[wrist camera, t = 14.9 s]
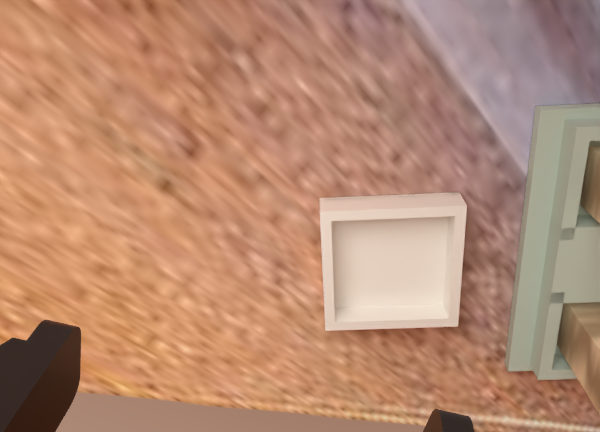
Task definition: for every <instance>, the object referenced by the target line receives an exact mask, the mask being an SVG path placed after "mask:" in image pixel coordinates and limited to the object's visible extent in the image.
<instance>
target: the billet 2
mask: <svg viewBox="0 0 600 432" xmlns="http://www.w3.org/2000/svg"><path fill="white" fill-rule="evenodd" d="M580 205H581V206H582V207H583V208H584V209H585V210H586V211H587V212H588V213H589V214H590V215H591V216H592V217H593V218H595V219H596V220H597V221H598V222H599V223H600V146H589V149H588V155H587V161H586V167H585V173H584V179H583V185H582V192H581V199H580Z"/></svg>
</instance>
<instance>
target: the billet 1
mask: <svg viewBox="0 0 600 432" xmlns="http://www.w3.org/2000/svg"><path fill="white" fill-rule="evenodd" d="M557 346H558V347H559V349H560V351H561V352H562V354H563V356H564V357H565V359H566V361H567V362H568V364H569V366H570V367H571V369H572V371H573V372H574V374H575V375H576V377H577V379H578V380H579V382H580V384H581V385H582V387H583V389H584V390H585V392H586V394H587V395H588V397H589V398H590V400H591V402H592V403H593V405H594V407H595V408H596V410H597V412H598V413H599V415H600V302H588V303H563V309H562V315H561V321H560V327H559V333H558V339H557Z"/></svg>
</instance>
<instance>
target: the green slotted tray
mask: <svg viewBox="0 0 600 432" xmlns="http://www.w3.org/2000/svg"><path fill="white" fill-rule="evenodd" d="M589 146H600V103H592V104H571V105H551V106H536V107H535V116H534V124H533V132H532V140H531V149H530V157H529V165H528V174H527V182H526V190H525V199H524V207H523V215H522V224H521V232H520V240H519V248H518V257H517V265H516V273H515V282H514V290H513V298H512V307H511V315H510V323H509V332H508V340H507V348H506V357H505V366H506V368H507V370H508V371H534V373H535V375H536V377H537V379H538V380H554V379H577V377H576V375H575V374H574V372H573V371H572V369H571V367H570V366H569V364H568V362H567V361H566V359H565V357H564V356H563V354H562V352H561V351H560V349H559V347H558V346H557V339H558V333H559V327H560V321H561V315H562V309H563V303H588V302H600V223H599V222H598V221H597V220H596V219H595V218H593V217H592V216H591V215H590V214H589V213H588V212H587V211H586V210H585V209H584V208H583V207H582V206H581V205H580V199H581V192H582V185H583V179H584V173H585V167H586V161H587V155H588V149H589Z"/></svg>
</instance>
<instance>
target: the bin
mask: <svg viewBox="0 0 600 432" xmlns="http://www.w3.org/2000/svg"><path fill="white" fill-rule="evenodd" d="M466 212H467V205H466V203H465V201H464V200H463V198H462V196H461V195H460V193H459V192H452V193H428V194H405V195H381V196H358V197H335V198H320V224H321V246H322V267H323V289H324V310H325V331H333V330H364V329H395V328H426V327H458V320H459V307H460V293H461V280H462V266H463V253H464V239H465V226H466Z"/></svg>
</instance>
